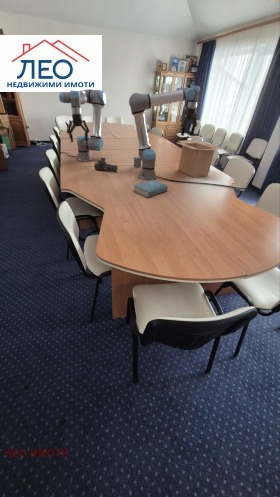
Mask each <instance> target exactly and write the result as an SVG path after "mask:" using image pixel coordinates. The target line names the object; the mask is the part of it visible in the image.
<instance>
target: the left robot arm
mask: <svg viewBox="0 0 280 497" xmlns="http://www.w3.org/2000/svg"><path fill="white" fill-rule="evenodd" d="M58 99H59V102H60V103H63V104H70V108H71V113H72V114H71V115H72V116H71V117H72V120H68V126H67V128H66V133H67V134H68V136H69V139H70V142H71V143H74V138H73V131H74V130H75V128H76V127H80V128H81V129H82V130H83V131H84V135H80V136H77V137H76V143H77V155H70V154H68V153H67V152H65V151H60V152H59V154H66V155H67V156H68V157H72V158H73V157H74V158H76V159H77V161H79V162H91V161H92V159H93V158H92V155H91V153H90V151H93V152H101V151H102V150H103V148H104V140H103V137H102V135H101V132H102V117H103V109H104V108H105V106H106V105H107V94H106V92H105V91H104V90H100V89H83V90H70V91H69V92H67V91H60V92H59V94H58ZM85 104H90V105H91V106H92V107H93V108H92V111H93V112H92V123H91V124H92V127H91V135H90V136H89V133H90V129H89V127H88V125H87V122H86V120H85V119H83V116H82V107H81V105H85Z"/></svg>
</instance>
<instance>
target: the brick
mask: <svg viewBox="0 0 280 497" xmlns="http://www.w3.org/2000/svg"><path fill="white" fill-rule="evenodd" d="M133 167H135V168H137V169H138V168H142V160H141V159H140V157H139V156H135V157H133Z"/></svg>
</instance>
